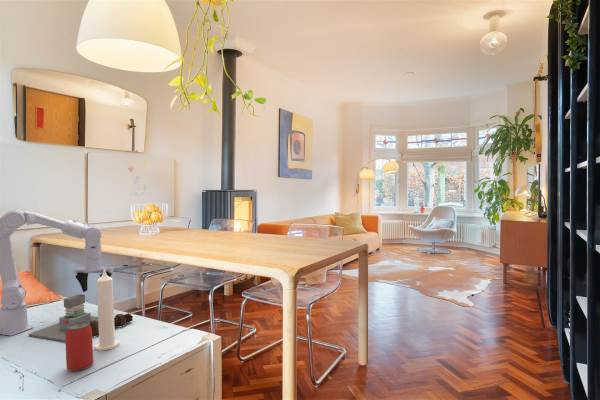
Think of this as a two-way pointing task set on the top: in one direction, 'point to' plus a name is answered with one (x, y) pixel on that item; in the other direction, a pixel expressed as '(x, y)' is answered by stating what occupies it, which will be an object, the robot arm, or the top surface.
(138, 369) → the top surface
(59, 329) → the jack base
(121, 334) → the top surface
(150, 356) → the top surface
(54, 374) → the top surface
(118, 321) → the bolt
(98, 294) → the candle
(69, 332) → the beer can
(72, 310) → the tall silver metal block
